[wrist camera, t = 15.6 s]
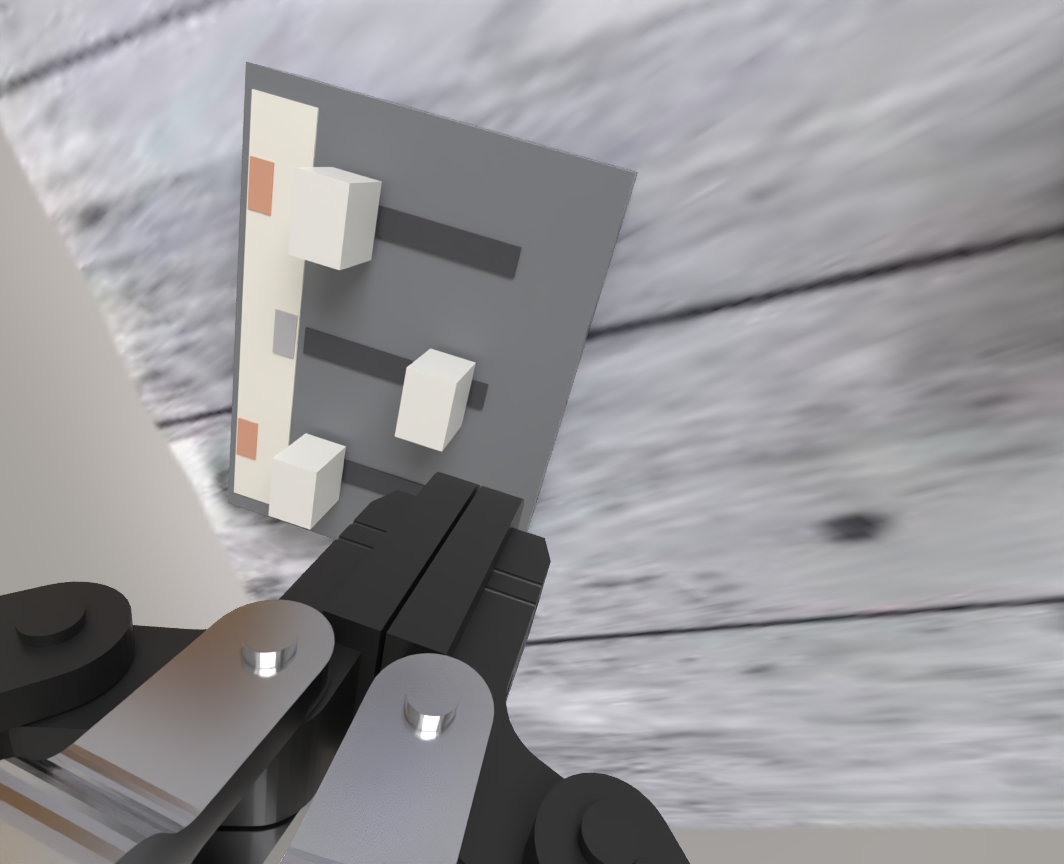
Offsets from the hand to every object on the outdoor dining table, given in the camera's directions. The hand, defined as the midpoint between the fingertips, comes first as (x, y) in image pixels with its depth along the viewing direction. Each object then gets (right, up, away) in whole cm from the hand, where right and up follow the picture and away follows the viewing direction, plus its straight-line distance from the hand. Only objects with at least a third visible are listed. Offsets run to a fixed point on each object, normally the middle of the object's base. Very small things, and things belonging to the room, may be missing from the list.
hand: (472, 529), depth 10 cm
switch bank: (-5, +7, +25) cm, 26 cm away
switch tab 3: (-3, +4, +21) cm, 21 cm away
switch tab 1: (-7, +12, +18) cm, 23 cm away
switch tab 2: (-11, 0, +24) cm, 27 cm away
